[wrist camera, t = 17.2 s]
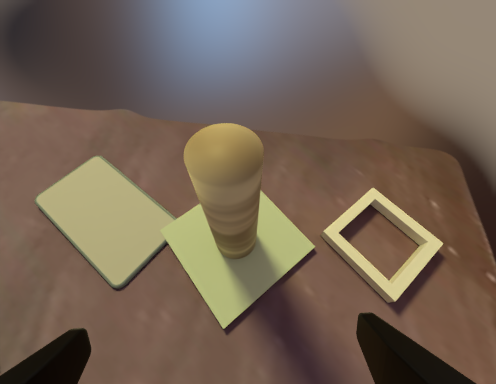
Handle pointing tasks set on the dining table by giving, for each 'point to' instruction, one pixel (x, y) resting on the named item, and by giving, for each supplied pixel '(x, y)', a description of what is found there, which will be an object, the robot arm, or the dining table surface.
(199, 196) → the tan dome-topped cylinder
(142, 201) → the sticky note pad
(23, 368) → the robot arm
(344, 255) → the cream rectangular frame
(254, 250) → the mat
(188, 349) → the dining table surface
